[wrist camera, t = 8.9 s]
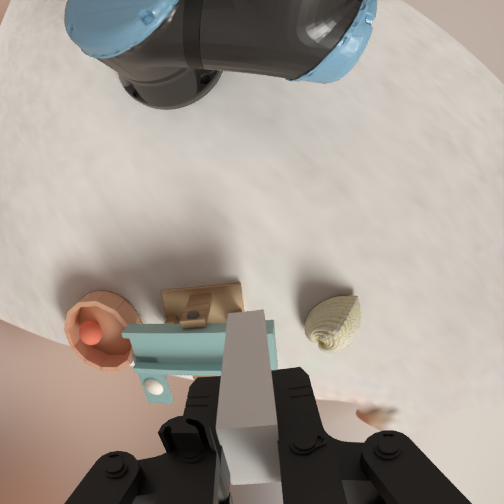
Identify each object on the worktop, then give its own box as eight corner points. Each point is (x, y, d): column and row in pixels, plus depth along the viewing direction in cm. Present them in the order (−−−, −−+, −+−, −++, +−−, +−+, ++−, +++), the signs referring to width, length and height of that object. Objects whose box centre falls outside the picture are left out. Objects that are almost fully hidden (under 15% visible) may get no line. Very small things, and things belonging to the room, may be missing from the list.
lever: (126, 323, 42) (115, 335, 39) (273, 319, 39) (273, 333, 36) (150, 398, 45) (143, 411, 42) (280, 400, 43) (280, 416, 40)
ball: (95, 314, 49) (74, 321, 46) (100, 322, 46) (78, 330, 43) (101, 335, 50) (81, 342, 47) (107, 344, 47) (85, 352, 44)
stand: (162, 290, 47) (145, 317, 38) (240, 282, 47) (239, 309, 38) (176, 351, 50) (164, 385, 41) (248, 346, 50) (249, 380, 41)
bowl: (68, 292, 47) (55, 303, 43) (133, 287, 47) (123, 299, 43) (89, 356, 51) (79, 369, 46) (151, 356, 51) (144, 371, 46)
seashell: (288, 335, 47) (317, 309, 42) (313, 305, 53) (340, 278, 48) (326, 370, 46) (359, 348, 40) (347, 337, 52) (377, 313, 46)
